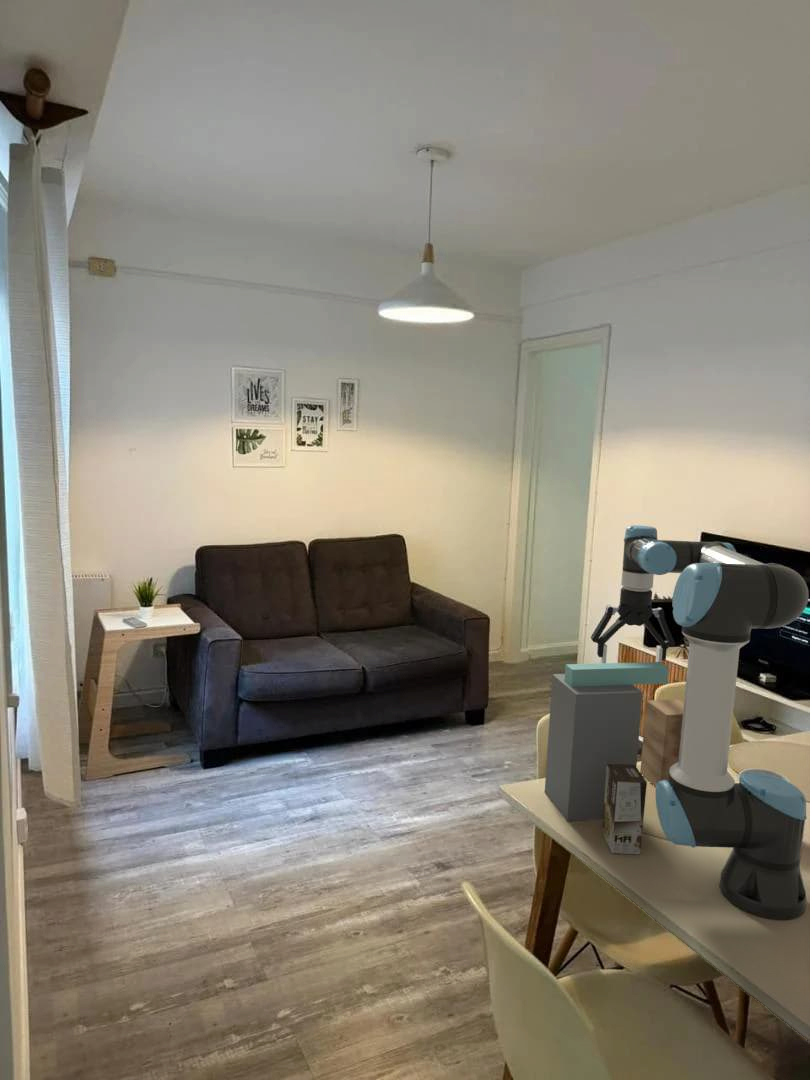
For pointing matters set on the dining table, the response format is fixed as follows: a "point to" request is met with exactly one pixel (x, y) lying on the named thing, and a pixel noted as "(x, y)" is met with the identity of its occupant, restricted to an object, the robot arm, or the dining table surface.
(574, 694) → the tall stand
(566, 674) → the teal bar
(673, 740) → the walnut pedestal
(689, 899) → the dining table surface
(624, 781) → the coffee box
